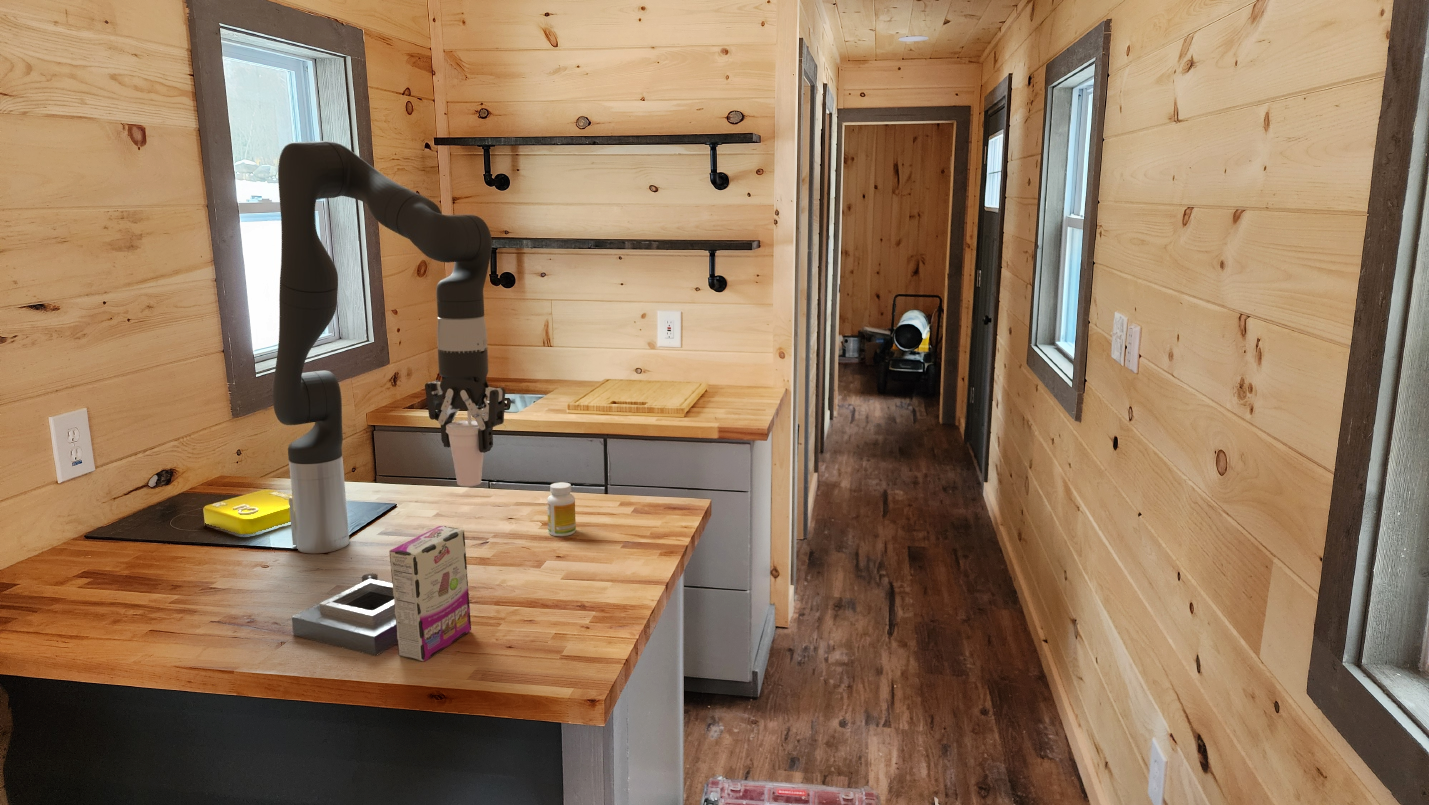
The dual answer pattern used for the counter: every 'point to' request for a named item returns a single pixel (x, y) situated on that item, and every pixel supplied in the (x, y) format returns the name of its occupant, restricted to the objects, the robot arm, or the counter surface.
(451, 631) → the candy bar box
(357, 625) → the grey square holder
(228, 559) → the counter surface
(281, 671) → the counter surface
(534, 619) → the counter surface
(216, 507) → the element tile
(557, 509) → the supplement bottle
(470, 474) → the smoothie
